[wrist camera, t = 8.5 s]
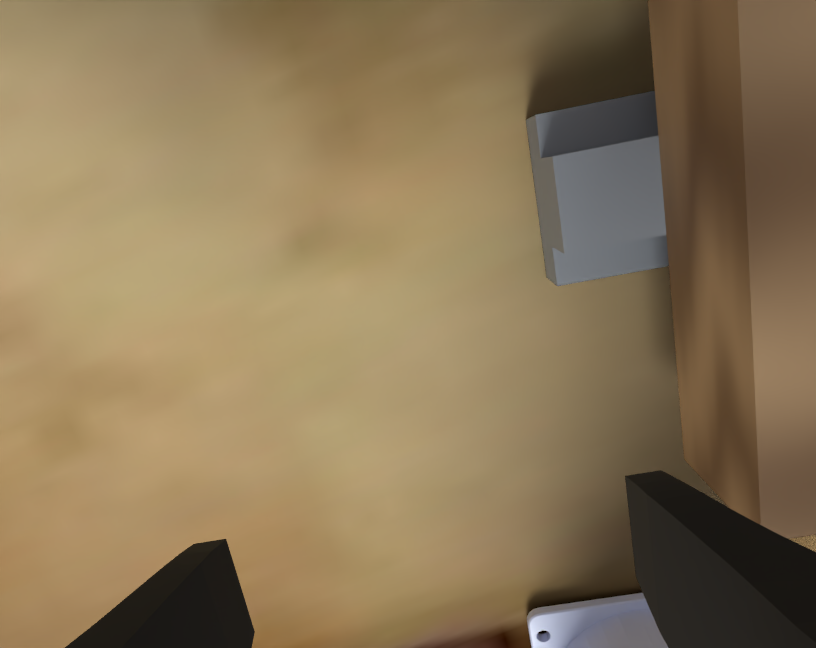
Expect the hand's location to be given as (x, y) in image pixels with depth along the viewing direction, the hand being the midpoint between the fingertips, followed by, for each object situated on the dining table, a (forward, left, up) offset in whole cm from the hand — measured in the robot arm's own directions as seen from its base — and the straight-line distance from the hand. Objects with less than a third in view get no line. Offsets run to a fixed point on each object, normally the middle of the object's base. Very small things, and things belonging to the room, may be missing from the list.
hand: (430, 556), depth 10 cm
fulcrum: (+5, -9, -10) cm, 14 cm away
